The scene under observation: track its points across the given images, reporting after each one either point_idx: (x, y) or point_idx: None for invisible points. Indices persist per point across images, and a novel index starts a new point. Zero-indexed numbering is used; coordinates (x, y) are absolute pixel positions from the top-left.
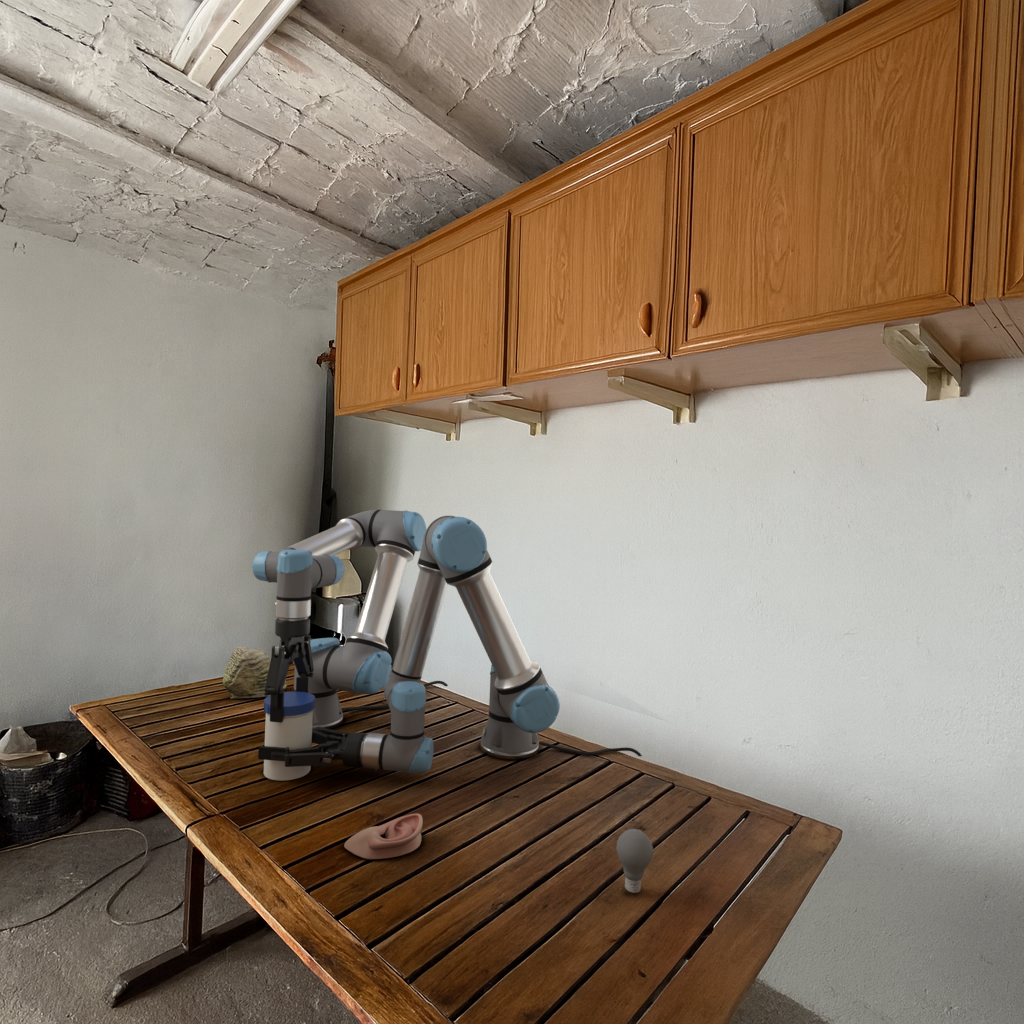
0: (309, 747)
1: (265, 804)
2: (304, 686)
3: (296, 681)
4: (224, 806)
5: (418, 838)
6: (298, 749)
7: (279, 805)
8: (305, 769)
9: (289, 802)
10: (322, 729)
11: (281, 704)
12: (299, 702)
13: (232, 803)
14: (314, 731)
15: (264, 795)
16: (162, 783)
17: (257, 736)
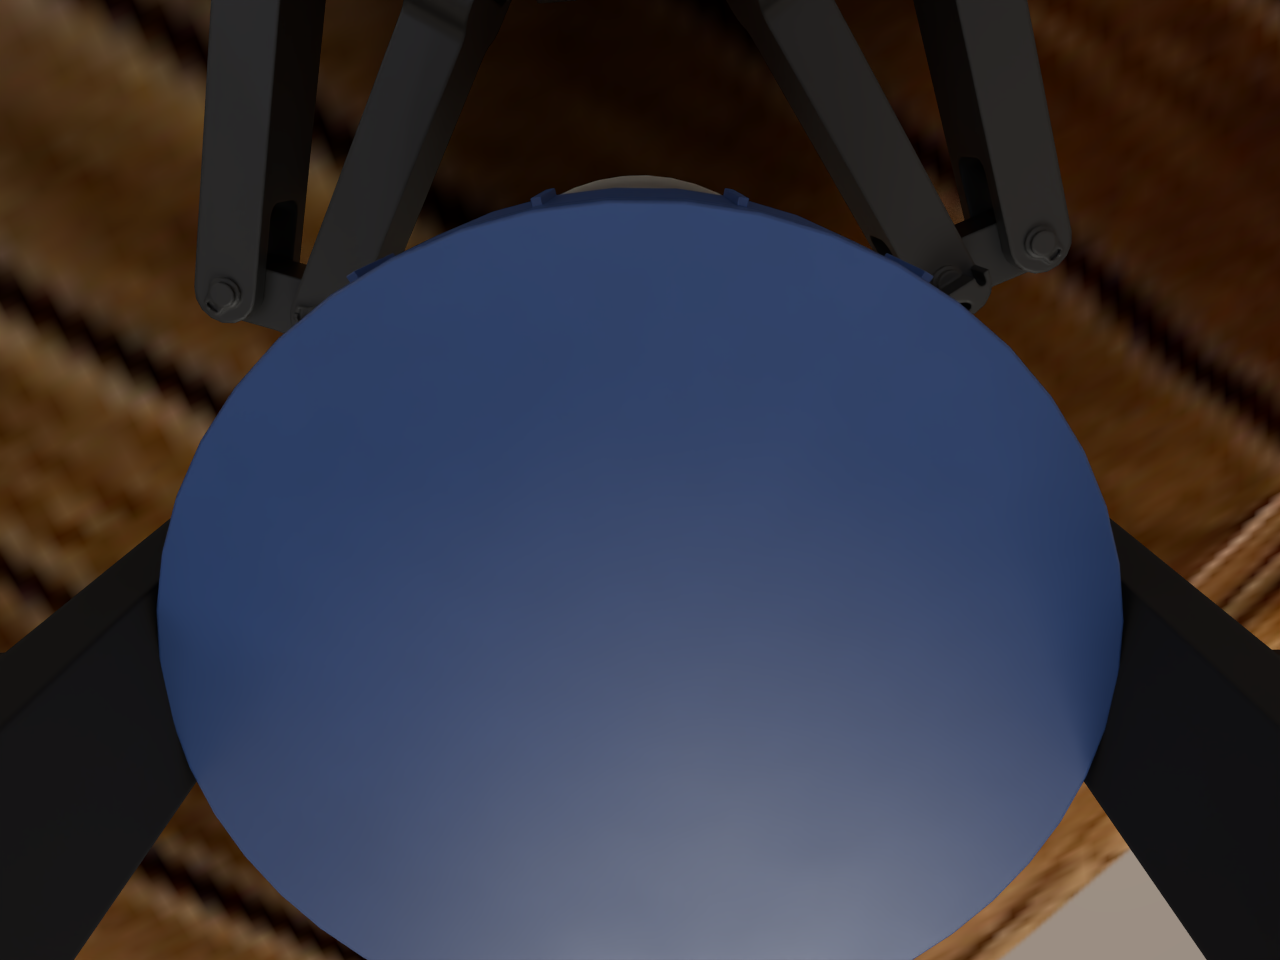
0: (631, 186)
1: (1199, 237)
2: (88, 712)
3: (73, 956)
4: (1230, 484)
5: None
6: (885, 201)
7: (1214, 123)
8: (684, 182)
9: (1163, 69)
10: (249, 211)
11: (1245, 638)
12: (815, 431)
13: (1187, 460)
14: (339, 277)
15: (1059, 317)
16: (955, 932)
17: (165, 830)
